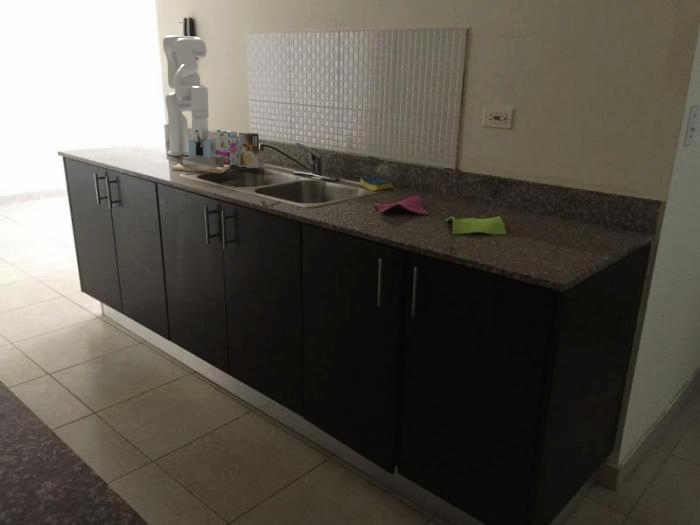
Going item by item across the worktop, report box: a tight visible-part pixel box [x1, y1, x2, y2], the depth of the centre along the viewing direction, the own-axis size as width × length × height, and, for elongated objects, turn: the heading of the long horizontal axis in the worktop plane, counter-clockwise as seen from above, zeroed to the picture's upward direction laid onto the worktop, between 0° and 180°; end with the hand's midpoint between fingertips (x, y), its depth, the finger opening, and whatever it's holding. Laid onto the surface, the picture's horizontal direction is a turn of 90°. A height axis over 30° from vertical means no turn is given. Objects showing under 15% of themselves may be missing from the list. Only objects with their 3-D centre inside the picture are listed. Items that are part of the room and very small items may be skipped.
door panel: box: [188, 138, 215, 159], centre depth 273 cm, size 4×11×12 cm, turn 84°
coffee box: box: [238, 132, 260, 169], centre depth 284 cm, size 9×6×16 cm
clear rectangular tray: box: [171, 153, 232, 174], centre depth 274 cm, size 15×23×6 cm, turn 84°
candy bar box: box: [215, 129, 238, 167], centre depth 287 cm, size 11×5×16 cm, turn 47°
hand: (201, 154), depth 273 cm, fingers open, 4 cm apart
